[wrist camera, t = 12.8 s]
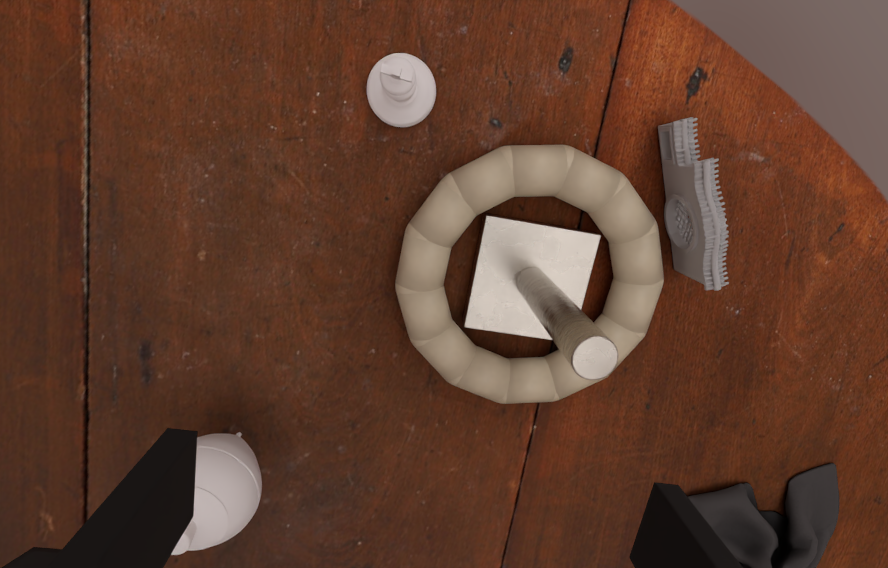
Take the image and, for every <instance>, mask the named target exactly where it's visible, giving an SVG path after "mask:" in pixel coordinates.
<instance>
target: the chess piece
mask: <svg viewBox="0 0 888 568" xmlns="http://www.w3.org/2000/svg"><path fill="white" fill-rule="evenodd" d="M367 97H368V101H369V104H370V106H371V108H372V110H373V111H374V113H375V114H376V115H377V116H378V117H379V118H380V119H381V120H382V121H384V122H385V123H387V124H389V125H392V126H395V127H409V126H413V125H415V124H418V123H419V122H421V121H422V120H423V119H425V118H426V117H427V115H428V114H429V113H430V111H431V110H432V108H433V105H434V102H435V98H436V84H435V80H434V77H433V75H432V73H431V71H430V69H429V68H428V67H427V65H426V64H425V63H424V62H423V61H421V60H420V59H418V58H417V57H415V56H413V55H410V54H406V53H394V54H390V55H388V56H386V57H384V58H382V59H381V60H380V61H378V62H377V63H376V65H375V66H374V67H373V69H372V70H371V72H370V74H369V77H368V81H367Z"/></svg>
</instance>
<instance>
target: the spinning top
mask: <svg viewBox="0 0 888 568" xmlns="http://www.w3.org/2000/svg"><path fill="white" fill-rule="evenodd" d="M241 435H242V434H241V432H238V433H237V435H233V434H208V435H204V436H201V437H197V451H196V472H195V494H194V515H193V518H192V520H191V521H190V523H189V525H188V526H187V528H186V530H185V531H184V533H183V535H182V536H181V538H180V540H179V542H178V543H177V545H176V547H175V548H174V550H173V552H172V553H171V555H179V554H182V553H184V552H186V551H187V550H190V551H193V550H202V549H205V548H208V547H212V546H215V545H218V544H221V543H223V542H225V541H227V540H229V539H230V538H232V537H234V536H235V535H236V534H238V533H239V532H240V531H241V530H242V529H243V528H244V527H245V526H246V525H247V524H248V523H249V521H250V520H251V518H252V517H253V515H254V514H255V512H256V510H257V507H258V505H259V501H260V497H261V492H262V478H261V473H260V469H259V465H258V462H257V459H256V456H255V454H254V453H253V451H252V450H251V448H250V447H249V446H248V444H247V443H246V442H245V441H244V440H243V439H242V438H241Z"/></svg>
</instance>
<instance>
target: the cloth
mask: <svg viewBox="0 0 888 568" xmlns="http://www.w3.org/2000/svg"><path fill="white" fill-rule="evenodd" d="M788 485H789V486H788V491H787V496H786V501H785V509H786V514H787V517H783V516H781V515H780V514H778V513H776V512H774V511H759V510H758V509H757V503H756V500H755V497H754V492H753V489H752V487H751V485H750V484H749V483H744V484H737V485H735V486H732V487H730V488H727V489H723V490H719V491H716V492H709V493H702V494H697V495H692V496H688V498H689V499H690V501H691V502H692V503H693V505H694V506H695V507H696V508H697V510H698V511H699V512H700V513H701V515H702V516H703V517H704V519H705V520H706V521H707V522H708V524H709V525H710V526H711V527H712V529H713V530H714V531H715V533H716V534H717V535H718V536H719V538H720V539H721V540H722V541H723V543H724V544H725V545H726V547H727V548H728V549H729V550H730V552H731V553H732V554H733V555H734V557H735V558H736V559H737V561H738V562H739V563H740V564H741V566H742V567H743V568H816V567H817V565H818V563H819V561H820V559H821V557H822V555H823V553H824V550H825V548H826V546H827V543H828V541H829V539H830V538H831V536H832V534H833V532H834V529H835V527H836V523H837V519H838V512H839V491H838V482H837V471H836V465H835V464H834V463H830V464H826V465H823V466H820V467H816V468H813V469H811V470H808V471H806V472H803V473H801V474H799V475H796V476H795V477H793V478H792V479H790V481H789V482H788Z"/></svg>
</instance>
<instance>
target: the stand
mask: <svg viewBox="0 0 888 568" xmlns="http://www.w3.org/2000/svg"><path fill="white" fill-rule="evenodd" d="M600 238H601V235H600V234H598V233H596V232H594V231H588V230H582V229H576V228H571V227H565V226H559V225H553V224H547V223H542V222H536V221H530V220H524V219H518V218H512V217H507V216H501V215H495V214H489V213H483V218H482V223H481V228H480V233H479V238H478V243H477V248H476V253H475V258H474V263H473V268H472V273H471V278H470V284H469V289H468V294H467V299H466V304H465V309H464V314H463V319H462V322H463V326H464V327H465V328H472V329H478V330H485V331H492V332H499V333H506V334H513V335H519V336H526V337H533V338H540V339H547V340H553V341H554V343H555V344H556V346H557V347H558V348H559V350H560V351H561V353H562V354H563V356H564V357H565V358H566V360H567V361H568V363H569V364H570V366H571V367H572V368H573V370H574V371H575V373H576V374H577V375H579V376H580V377H582V378H584V379H588V380H597V379H601V378H604V377H605V376H607V375H608V374H610V373H611V372H612V371H613V370H614V368H615V366H616V365H617V362H618V350H617V347H616V345H615V344H614V343H613V342H612V341H611V340H610V339H609V338H608V337H607V336H606V334H605V333H604V332H603V331H602V330H601V329H600V328H599V327H598V326H597V325H596V324H595V323H594V322H593V321H592V320H591V319H590V318H589V317H588V316H587V315H586V314H585V313H584V312H583V311H582V310H581V309H582V306H583V302H584V298H585V294H586V291H587V287H588V283H589V279H590V276H591V272H592V268H593V264H594V260H595V257H596V253H597V249H598V245H599V242H600Z"/></svg>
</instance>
